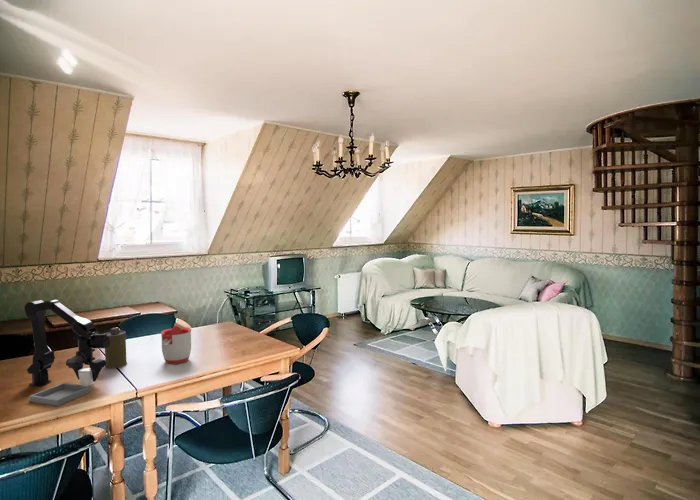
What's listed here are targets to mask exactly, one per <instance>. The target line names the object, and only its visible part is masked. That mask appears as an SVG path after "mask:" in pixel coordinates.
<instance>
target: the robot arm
mask: <svg viewBox="0 0 700 500" xmlns="http://www.w3.org/2000/svg"><path fill="white" fill-rule="evenodd" d="M23 307H24V313H25V316H26V317H27V318H28V319H29V320H30V323H31V324H30V325H31V330H32V336H33V344H34V352H33V355H32V362H31V363H32V364H31V365H30V366H29V367H28V368H27V369H26V371H27V373H28V375H29V374H31V377H32V378H31V381H32V382H30V383H29V384H28V385H29V386H36V387H41V386H43V385H47V384H49V383H51V382H52V379H51V380H50V379H49V377H50V376H49V369H50V368H51V367H52V365H53V364H54V362H55V359H56V357H55V351H54V350H50V349H49V346H48V340H47V333H46V326H45V320H44V319H45V316H46V313H47V310H50V311H51V312H52V313H54V314H55V315H57V317H59V318H61V320H63V321H65V322H66V323H68V325H69V326H70V327H71V330H72V331H73V332H74V333H75V334H76V335H75V336H74V337H72V339H73V340H77V345H78V346H77V349H78V350H76V351H75V355H74V356H72V357H70V358H67V360H65V365H66V366H67V367H68V368H69V369H72V370H73V371H74V373H75V376H76V377H77V378H76V379H77V380H79V374H78V371H79V370H80V369H83V368H84V365H86V366H88V368H91V369H89V370H91V371H92V378H93V382H94V383H95V382H96V381H97V380H98V377H99V375H100V373H101V371H102V369H103V368H104V367H105V366H106V361H105V359H96V357H94V354H93V353H94V352H95V351H96V350H95V349H105V348H107V347H108V346H109V343H110V339H109V337H108V336H107V334H105V333H100V332H99V330H98V329H97V327H95V325H94V322H93V321H91V320H89V319H88V318H85V317H81V316H79V315H77V314H76V313H74V312H73V311H72V310H71V309H69V308H68V307H66V306H65V305H63V304H62V303H61V302H60V300H58V299H51V300H45V301H44V300H42V299H38V300H33V301H30V302H27V303H25V305H24V306H23ZM79 381H80V380H79Z"/></svg>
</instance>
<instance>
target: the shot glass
mask: <svg viewBox="0 0 700 500" xmlns="http://www.w3.org/2000/svg"><path fill="white" fill-rule="evenodd" d="M89 369H91V368H90V367H83V369H80V370H79V371H78V374H79V385H83V386H92V385H94V384H93V383H95V382H93V378H92V371H91V370H89Z"/></svg>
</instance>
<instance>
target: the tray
mask: <svg viewBox="0 0 700 500" xmlns="http://www.w3.org/2000/svg"><path fill="white" fill-rule="evenodd" d="M91 389H92V388H91V385H89V386H83V385H80V384H75V383H70V382H68V383H67V382H62V383H59V384H57V385H54V386H52V387H49V388H46V389H44V390H42V391H39V392H36V393H34V394H30V395H29V399H28V401H29V403H35V404H43V405H48V406H53V407H60V406H62V405H64V404H67V403H69V402H71V401H73V400H76V399H77V398H80V397H82V396H85V395H87V394H89V393H91V392H92V390H91Z"/></svg>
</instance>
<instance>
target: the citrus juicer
mask: <svg viewBox="0 0 700 500" xmlns="http://www.w3.org/2000/svg"><path fill="white" fill-rule="evenodd" d="M160 334H161V336H160V337H161V352H162V356H163V359H164V361H165V363H166V364H170V365H171V364H172V365H174V364H176V365H180V364H183V363H185V362H187V361H189V360H190V359H189V358H190V356H191V352H192V329H191V328H189V327H183V326H182V327H181V326H179V325H174V326H173V327H172V328H166V329H164V330H161V331H160Z"/></svg>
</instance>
